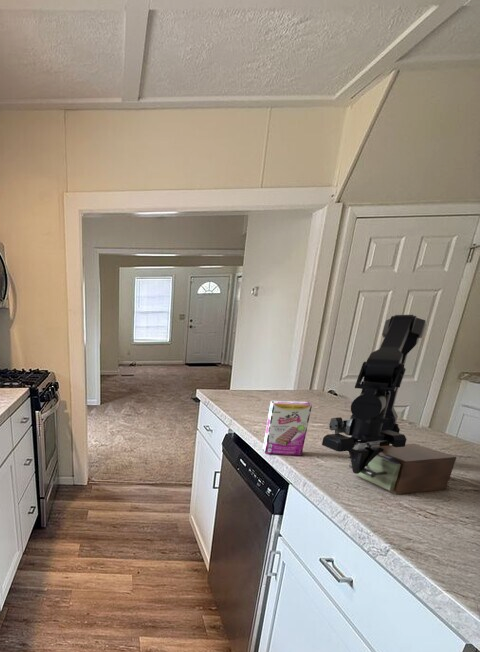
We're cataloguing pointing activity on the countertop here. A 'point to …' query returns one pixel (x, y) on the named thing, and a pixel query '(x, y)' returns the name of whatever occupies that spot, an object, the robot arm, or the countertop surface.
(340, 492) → the countertop surface
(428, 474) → the cabinet
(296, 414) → the candy bar box
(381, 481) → the drawer
